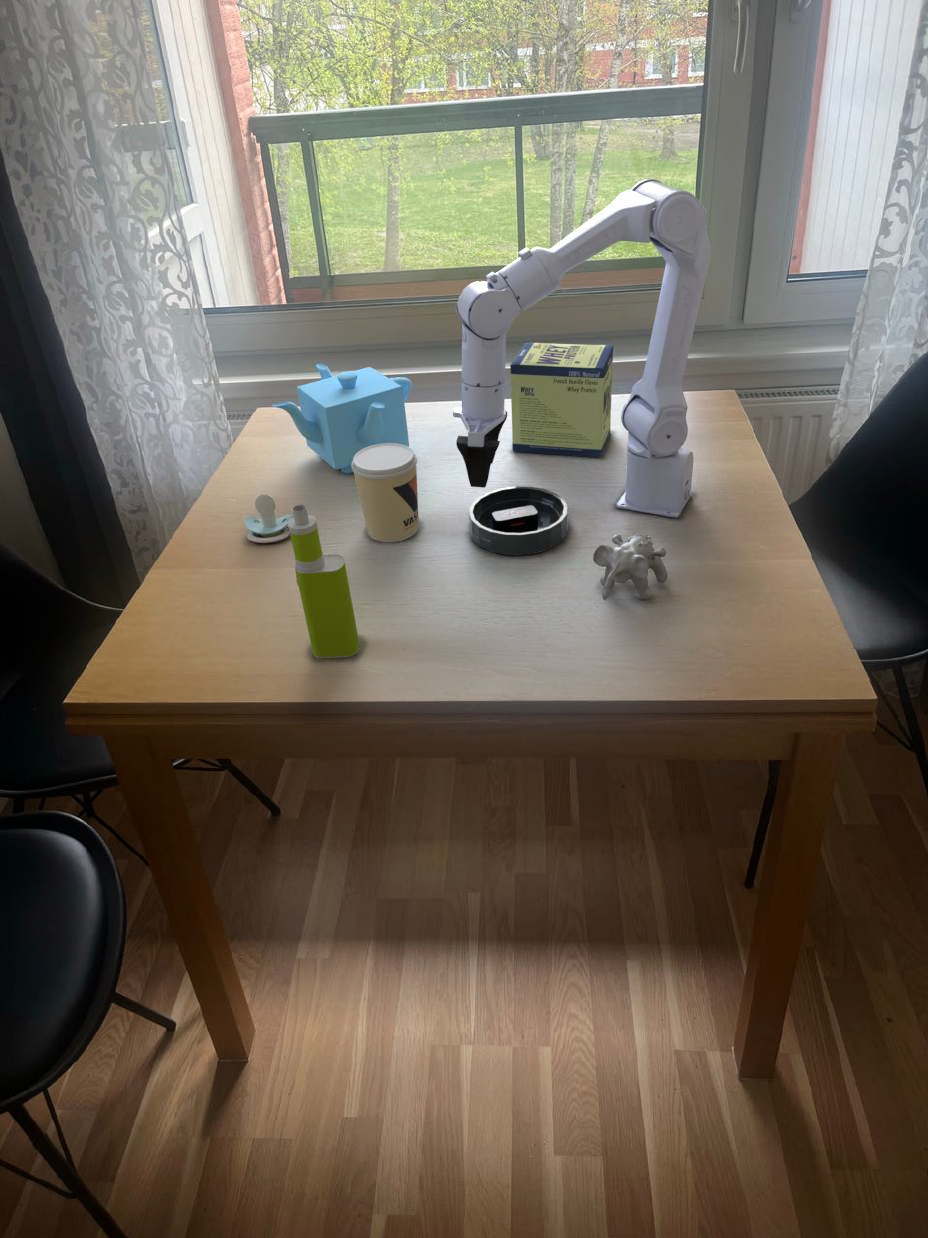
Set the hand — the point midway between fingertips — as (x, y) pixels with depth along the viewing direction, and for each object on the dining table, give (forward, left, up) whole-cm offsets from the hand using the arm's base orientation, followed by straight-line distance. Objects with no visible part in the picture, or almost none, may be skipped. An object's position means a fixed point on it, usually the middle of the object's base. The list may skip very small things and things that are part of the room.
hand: (482, 473), depth 126 cm
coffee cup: (+14, +3, -10) cm, 17 cm away
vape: (+6, +31, -10) cm, 33 cm away
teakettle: (+33, -16, -10) cm, 38 cm away
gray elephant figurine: (-24, +7, -10) cm, 27 cm away
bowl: (-4, -3, -10) cm, 11 cm away
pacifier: (+31, +11, -10) cm, 34 cm away
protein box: (+1, -33, -10) cm, 34 cm away
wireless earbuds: (-4, -3, -10) cm, 11 cm away
